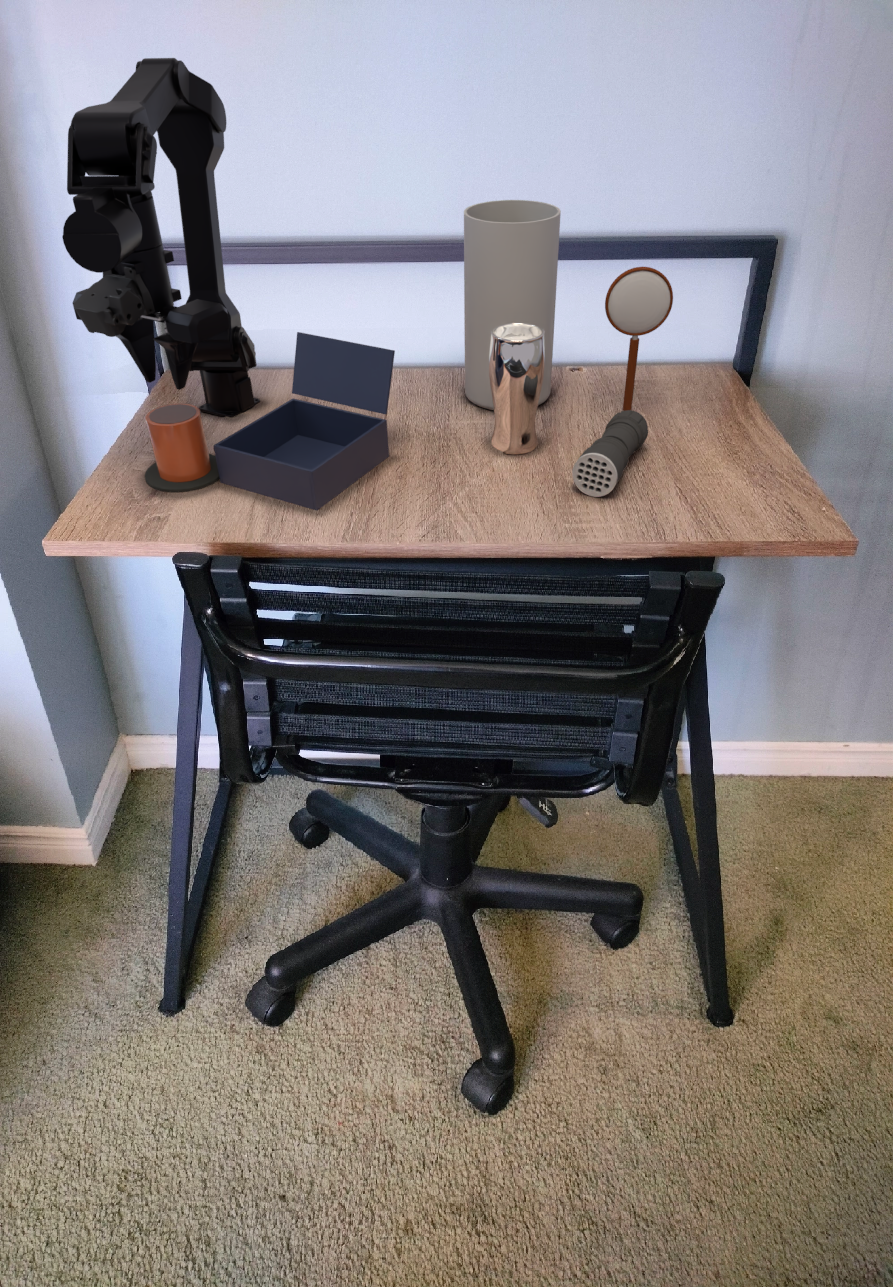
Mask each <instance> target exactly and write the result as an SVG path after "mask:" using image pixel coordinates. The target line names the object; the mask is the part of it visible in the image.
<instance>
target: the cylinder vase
mask: <svg viewBox="0 0 893 1287" xmlns="http://www.w3.org/2000/svg"><path fill="white" fill-rule="evenodd" d="M560 230H561V208H559V207H558V206H556V205H554V204H551V203H547V202H543V201H537V200H526V199H501V200H490V201H485V202H479V203H474V204H472V205H469V206H467V207H466V208H464V210H463V304H464V305H463V306H464V307H463V309H464V310H463V312H464V313H463V314H464V317H463V319H464V323H463V324H464V392H465V393H464V394H465V396H466V398H467V399H468V401H470V402H471V403H472V404H474V405H476V406H478V407H480V408H483V409H487V410H491V411H494V405H493V400H492V394H491V387H490V379H489V351H490V340H491V330H492V329H493V328H494V327H496V326H498V325H502V324H506V323H529V324H534V325H537V326H539V327H541V328H542V329H543V330H544V346H545V366H544V377H543V383H542V388H541V392H540V397H539V401H538V406H540V405H541V404H542V405H543V403H545V402H546V401H547V400H548V398H549V397H550V395H551V390H552V371H553V354H554V353H553V352H554V336H555V333H554V332H555V317H556V304H557V303H556V301H557V286H558V285H557V284H558V266H559V248H560Z"/></svg>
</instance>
